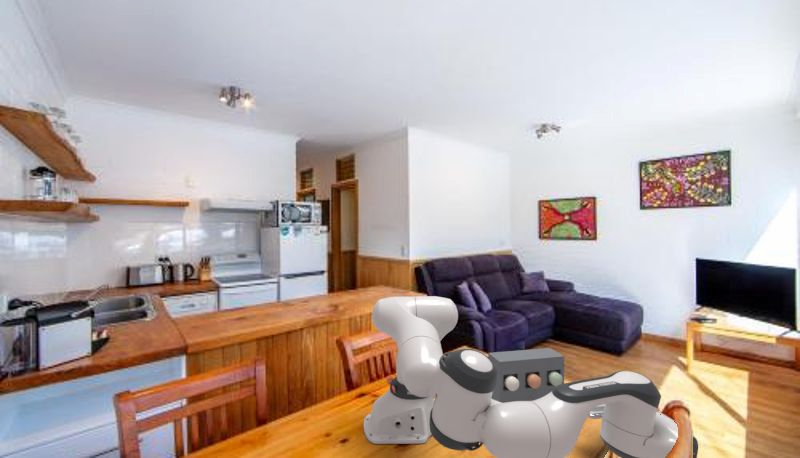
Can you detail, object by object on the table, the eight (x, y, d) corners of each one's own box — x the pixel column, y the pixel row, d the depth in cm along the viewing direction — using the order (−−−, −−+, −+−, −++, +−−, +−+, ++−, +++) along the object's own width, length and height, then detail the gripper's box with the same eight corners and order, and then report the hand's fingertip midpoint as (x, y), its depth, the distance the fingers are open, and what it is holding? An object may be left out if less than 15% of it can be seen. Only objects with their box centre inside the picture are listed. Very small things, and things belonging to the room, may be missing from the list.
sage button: (551, 386, 116) (551, 374, 116) (547, 384, 118) (547, 371, 117) (562, 385, 116) (562, 373, 116) (558, 383, 118) (558, 370, 118)
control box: (499, 410, 114) (499, 361, 113) (487, 398, 122) (488, 352, 121) (563, 402, 119) (564, 356, 118) (549, 391, 127) (549, 347, 126)
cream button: (507, 391, 112) (507, 378, 112) (504, 388, 114) (504, 376, 114) (519, 390, 113) (519, 377, 113) (515, 387, 115) (516, 374, 115)
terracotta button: (529, 389, 114) (529, 376, 114) (526, 386, 116) (526, 373, 116) (541, 388, 115) (541, 375, 115) (537, 385, 117) (537, 372, 117)
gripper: (592, 430, 87) (556, 402, 101) (660, 420, 91) (617, 394, 105) (592, 405, 87) (557, 380, 101) (660, 397, 91) (617, 374, 105)
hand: (588, 387), depth 103 cm, fingers closed
